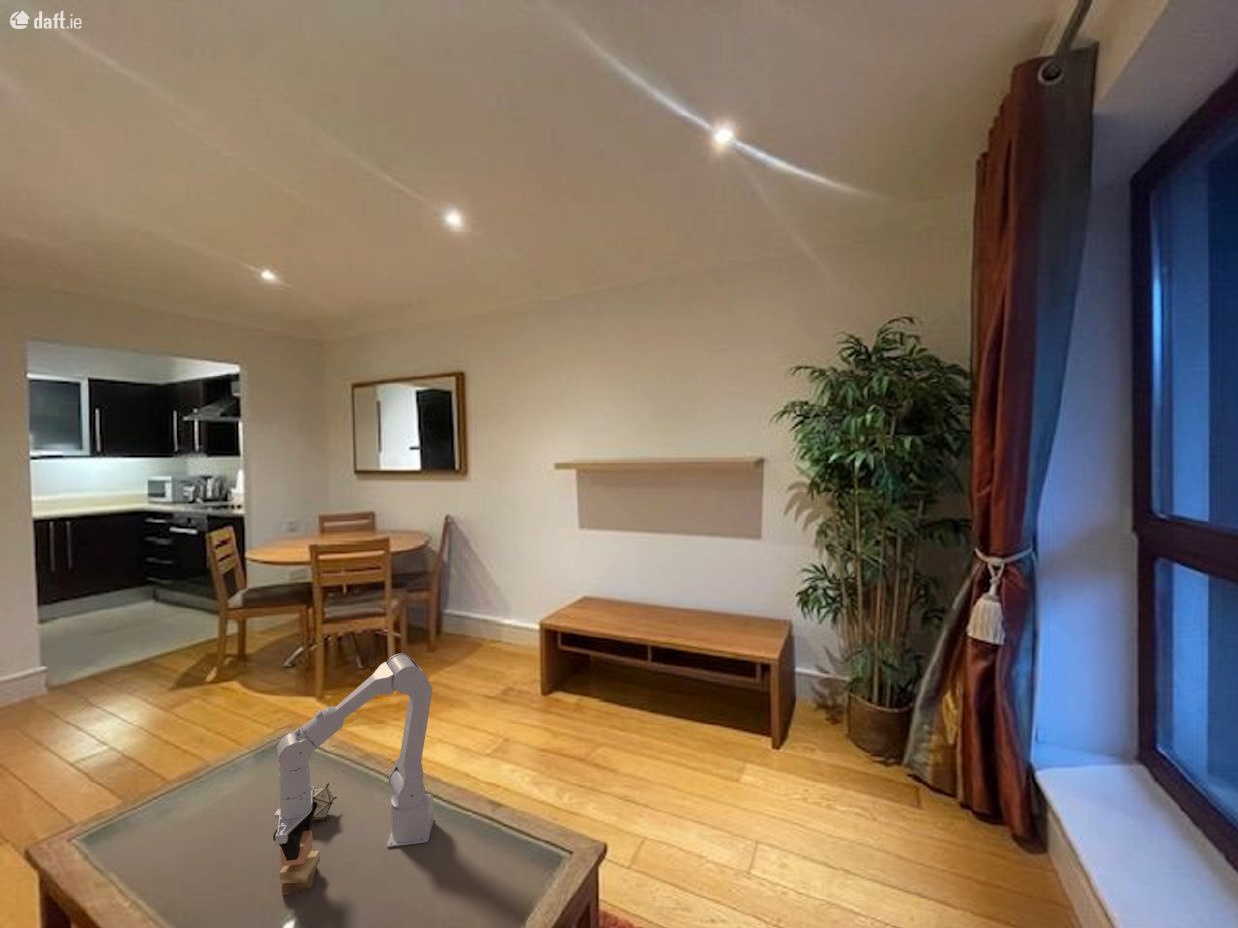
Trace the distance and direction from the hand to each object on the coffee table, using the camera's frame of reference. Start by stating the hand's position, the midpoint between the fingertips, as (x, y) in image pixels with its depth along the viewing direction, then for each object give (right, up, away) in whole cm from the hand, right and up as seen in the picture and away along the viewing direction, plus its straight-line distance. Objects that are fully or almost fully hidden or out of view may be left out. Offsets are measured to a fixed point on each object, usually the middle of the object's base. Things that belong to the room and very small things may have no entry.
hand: (297, 849), depth 114 cm
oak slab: (0, -5, +1) cm, 6 cm away
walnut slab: (0, -8, +1) cm, 8 cm away
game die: (-7, -7, +19) cm, 21 cm away
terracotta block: (0, -2, 0) cm, 2 cm away
